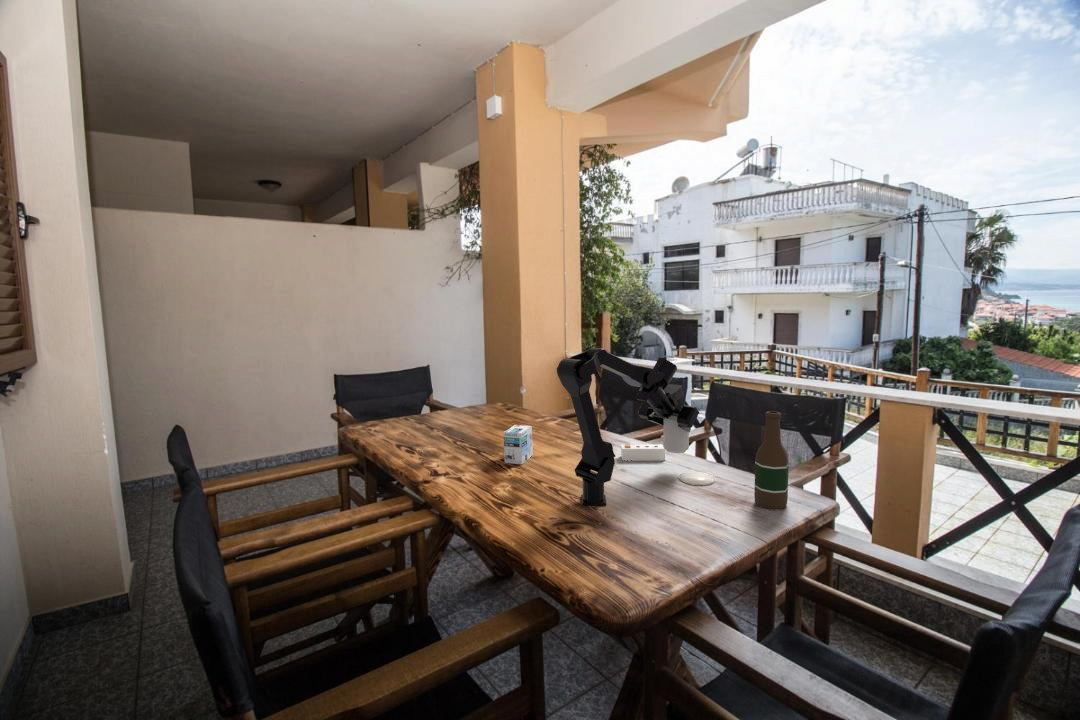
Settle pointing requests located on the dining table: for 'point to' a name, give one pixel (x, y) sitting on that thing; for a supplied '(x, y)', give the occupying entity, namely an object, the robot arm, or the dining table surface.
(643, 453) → the power strip
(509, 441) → the light bulb box
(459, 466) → the dining table surface
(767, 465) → the beer bottle
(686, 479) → the coaster
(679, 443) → the can
